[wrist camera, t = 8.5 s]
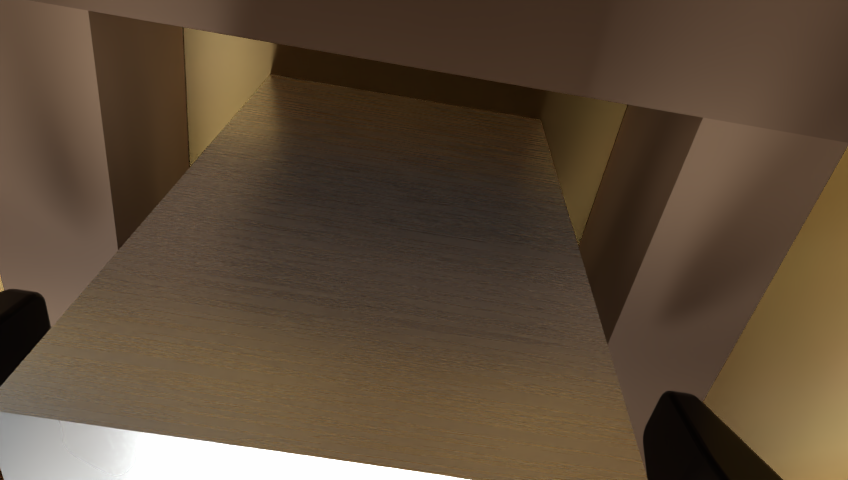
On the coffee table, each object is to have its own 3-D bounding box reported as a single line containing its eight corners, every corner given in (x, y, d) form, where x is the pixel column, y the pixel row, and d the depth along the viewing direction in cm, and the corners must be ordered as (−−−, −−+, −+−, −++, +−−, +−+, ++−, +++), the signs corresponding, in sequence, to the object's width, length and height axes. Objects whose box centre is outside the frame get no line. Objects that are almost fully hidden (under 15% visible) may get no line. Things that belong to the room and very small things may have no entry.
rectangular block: (484, 325, 14) (507, 763, 7) (265, 292, 14) (79, 709, 7) (540, 119, 11) (655, 505, 5) (270, 74, 11) (-19, 409, 4)
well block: (587, 451, 16) (610, 565, 13) (120, 381, 16) (53, 484, 13) (814, -50, 10) (939, -16, 7) (38, -195, 9) (-123, -214, 7)
